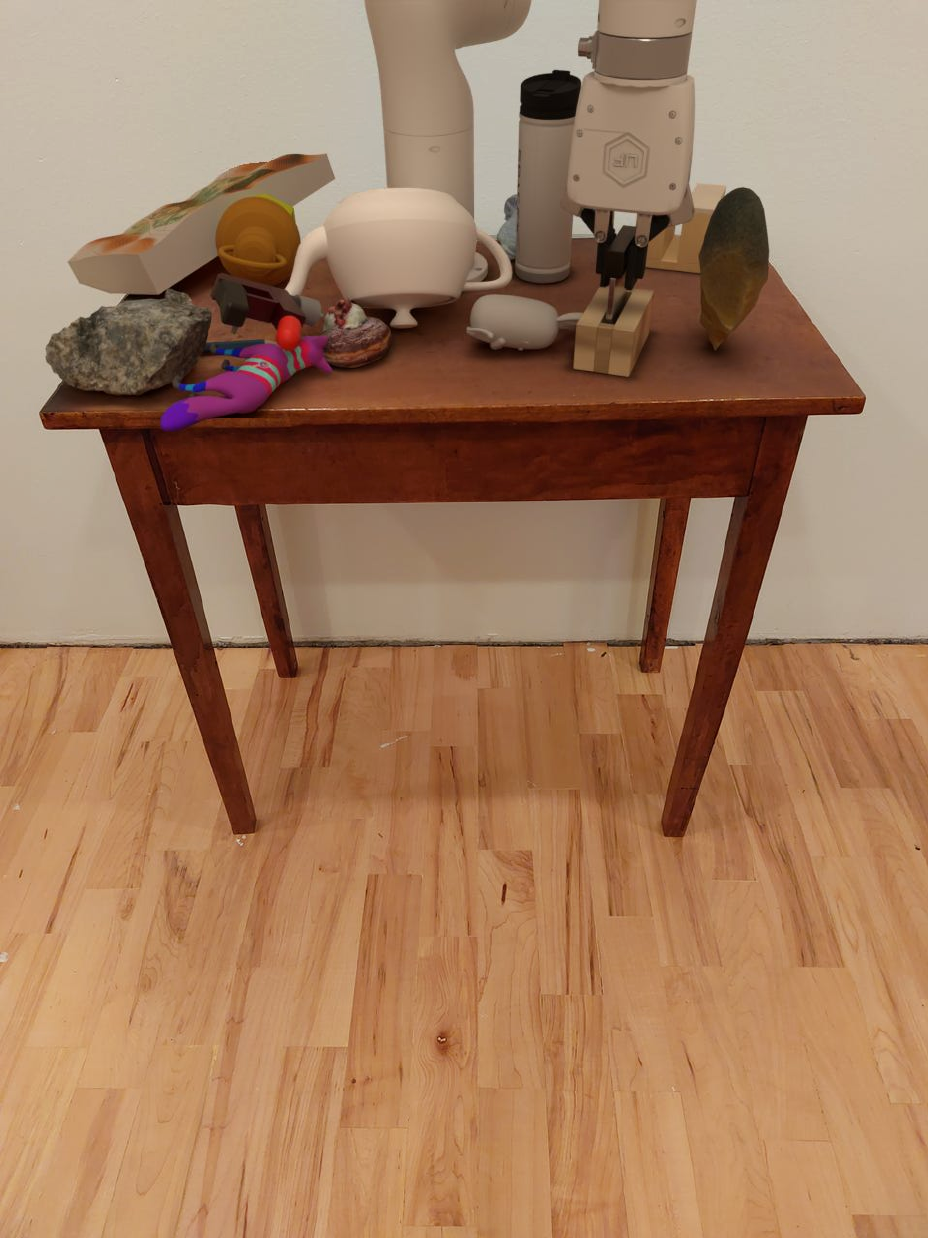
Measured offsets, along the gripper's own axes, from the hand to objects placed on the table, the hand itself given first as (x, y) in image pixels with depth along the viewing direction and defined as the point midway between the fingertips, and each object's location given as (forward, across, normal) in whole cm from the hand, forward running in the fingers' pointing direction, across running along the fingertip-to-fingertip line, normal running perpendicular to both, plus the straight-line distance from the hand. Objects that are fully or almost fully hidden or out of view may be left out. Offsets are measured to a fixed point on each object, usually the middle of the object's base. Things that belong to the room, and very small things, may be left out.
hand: (619, 282), depth 86 cm
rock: (+1, -40, -24) cm, 46 cm away
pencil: (+7, -38, -13) cm, 41 cm away
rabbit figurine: (+7, -8, -2) cm, 11 cm away
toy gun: (0, -27, -15) cm, 31 cm away
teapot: (-5, -24, +2) cm, 25 cm away
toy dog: (+5, -34, -20) cm, 40 cm away
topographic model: (+4, -51, +11) cm, 52 cm away
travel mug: (+7, -12, +18) cm, 22 cm away
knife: (+7, 0, 0) cm, 7 cm away
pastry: (+7, -24, -8) cm, 26 cm away
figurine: (+7, -16, +26) cm, 31 cm away
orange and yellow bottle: (+7, -42, +6) cm, 43 cm away
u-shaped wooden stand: (+7, +2, +28) cm, 28 cm away
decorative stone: (+7, +10, +3) cm, 12 cm away
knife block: (+7, 0, 0) cm, 7 cm away
